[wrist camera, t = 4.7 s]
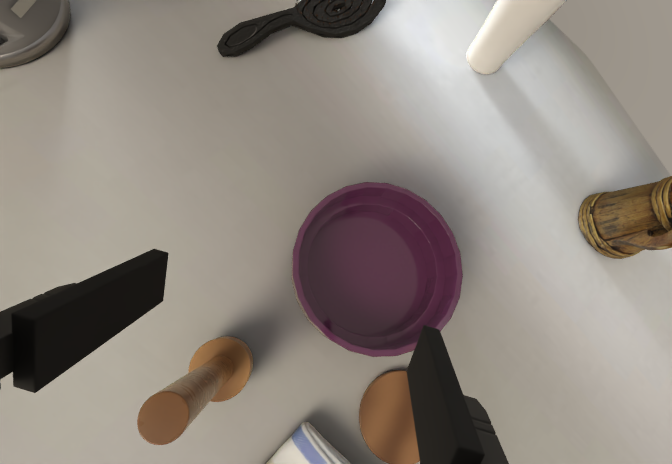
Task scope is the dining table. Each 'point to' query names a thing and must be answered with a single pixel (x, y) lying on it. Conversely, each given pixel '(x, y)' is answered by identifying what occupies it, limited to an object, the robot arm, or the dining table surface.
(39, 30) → the robot arm
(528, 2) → the white tumbler
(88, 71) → the dining table surface
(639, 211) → the wooden mug
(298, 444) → the dish towel
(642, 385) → the dining table surface
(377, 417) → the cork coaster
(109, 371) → the dining table surface
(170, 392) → the dish brush
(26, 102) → the dining table surface
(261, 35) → the hairbrush
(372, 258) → the bowl
